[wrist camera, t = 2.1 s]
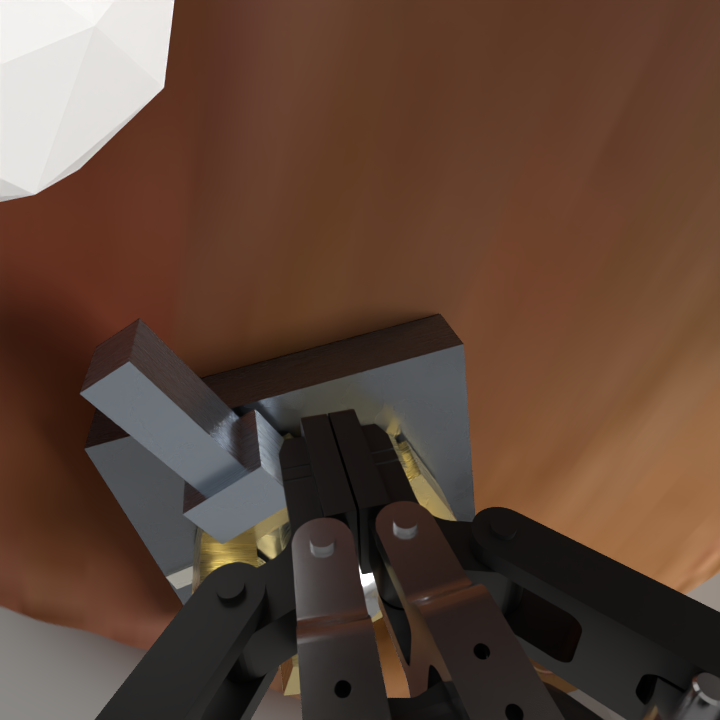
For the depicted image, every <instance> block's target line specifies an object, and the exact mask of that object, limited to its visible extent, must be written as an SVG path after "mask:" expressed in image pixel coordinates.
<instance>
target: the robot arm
mask: <svg viewBox="0 0 720 720" xmlns="http://www.w3.org/2000/svg"><path fill="white" fill-rule="evenodd" d="M300 426H301V435H302V437H297V438H292V439H286V440H284V442H283V444H282V447H281V449H280V452H279V461H280V467H281V474H282V481H283V488H284V495H285V501H286V507H287V513H288V519H289V525H290V531H291V536H290V539H289V542H288V544H287V545H286V547H285V548H284V550H283V551H282V552H281V553H280V554H279V555H277V556H276V557H275V558H273V559H272V560H270V561H268V562H267V563H265V564H263V565H261V566H259V567H257V568H256V567H255V566H253V565H251V564H248V563H243V562H233V563H228V564H225V565H223V566H220V567H218V568H217V569H215V570H214V571H212V572H211V573H210V574H209V575H208V576H207V577H206V578H205V579H204V580H203V582H202V583H201V584H200V585H199V587H198V588H197V589H196V591H195V592H194V593H193V594H192V596H191V597H190V598H189V599H188V601H187V602H186V603H185V605H184V606H183V607H182V608H181V610H180V611H179V612H178V614H177V615H176V616H175V617H174V619H173V620H172V621H171V623H170V624H169V625H168V626H167V628H166V629H165V630H164V632H163V633H162V634H161V635H160V637H159V638H158V639H157V641H156V642H155V643H154V644H153V646H152V647H151V648H150V649H149V651H148V652H147V653H146V655H145V656H144V657H143V659H142V660H141V661H140V662H139V664H138V665H137V666H136V667H135V669H134V670H133V671H132V673H131V674H130V675H129V677H128V678H127V679H126V680H125V682H124V683H123V684H122V685H121V687H120V688H119V689H118V691H117V692H116V693H115V694H114V696H113V697H112V698H111V699H110V701H109V702H108V703H107V705H106V706H105V707H104V708H103V710H102V711H101V713H100V714H99V715H98V716H97V717H96V719H95V720H251V718H252V716H253V714H254V713H255V711H256V709H257V707H258V705H259V704H260V702H261V700H262V698H263V697H264V695H265V693H266V691H267V689H268V688H269V686H270V684H271V682H272V680H273V679H274V677H275V675H276V673H277V671H278V667H279V665H280V664H282V663H284V662H285V661H287V660H288V659H290V658H291V657H293V656H294V655H296V654H298V665H299V679H300V694H301V709H302V720H604V719H603V718H601V717H600V716H598V715H597V714H596V713H594V712H593V711H591V710H590V709H588V708H587V707H585V706H584V705H583V704H581V703H580V702H578V701H577V700H575V699H574V698H572V697H571V696H570V695H568V694H567V693H565V692H563V691H562V690H560V689H558V688H556V687H555V686H553V685H551V684H549V683H546V682H544V681H542V680H541V678H540V677H539V675H538V673H537V672H536V670H535V668H534V667H533V665H532V663H531V662H530V660H529V658H531V659H532V660H534V661H535V662H537V663H538V664H540V665H541V666H543V667H545V668H546V669H548V670H549V671H551V672H552V673H554V674H556V675H557V676H559V677H560V678H562V679H563V680H565V681H567V682H568V683H570V684H571V685H573V686H574V687H576V688H577V689H579V690H581V691H582V692H584V693H585V694H587V695H588V696H590V697H592V698H593V699H595V700H596V701H598V702H599V703H601V704H602V705H604V706H606V707H607V708H609V709H610V710H612V711H613V712H615V713H617V714H618V715H620V716H621V717H623V718H624V719H626V720H720V612H718V611H716V610H714V609H712V608H710V607H708V606H706V605H704V604H702V603H700V602H698V601H696V600H694V599H692V598H690V597H688V596H686V595H684V594H682V593H680V592H678V591H676V590H674V589H672V588H670V587H668V586H666V585H664V584H662V583H660V582H658V581H656V580H653V579H651V578H649V577H647V576H645V575H643V574H641V573H639V572H637V571H635V570H633V569H631V568H629V567H627V566H625V565H623V564H621V563H619V562H617V561H615V560H613V559H611V558H609V557H607V556H605V555H603V554H601V553H599V552H597V551H595V550H593V549H591V548H589V547H587V546H585V545H583V544H581V543H579V542H577V541H575V540H572V539H570V538H568V537H566V536H564V535H562V534H560V533H558V532H556V531H554V530H552V529H550V528H548V527H546V526H544V525H542V524H540V523H538V522H536V521H534V520H532V519H530V518H528V517H526V516H524V515H522V514H520V513H518V512H516V511H513V510H511V509H508V508H503V507H491V508H487V509H484V510H482V511H480V512H479V513H478V514H477V515H476V516H475V517H474V519H473V522H466V521H451V520H445V519H441V518H438V517H435V516H434V515H432V514H431V513H430V512H429V511H428V510H427V509H426V508H425V507H423V506H422V505H420V504H419V502H418V500H417V498H416V496H415V494H414V491H413V489H412V487H411V485H410V482H409V480H408V478H407V476H406V473H405V471H404V469H403V467H402V464H401V462H400V461H399V458H398V456H397V453H396V451H395V450H394V447H393V444H392V442H391V440H390V438H389V435H388V434H387V433H386V432H385V431H384V430H383V429H381V428H380V427H379V426H378V425H377V424H370V425H364V426H361V425H360V422H359V420H358V417H357V415H356V412H355V410H354V409H349V410H343V411H337V412H331V413H328V414H320V415H314V416H308V417H303V418H300ZM359 566H360V570H361V573H362V575H365V574H369V573H373V576H374V579H375V583H376V586H377V602H378V605H379V608H380V610H381V613H382V616H383V618H384V621H385V623H386V626H387V629H388V631H389V634H390V636H391V639H392V641H393V644H394V647H395V649H396V652H397V654H398V657H399V660H400V662H401V665H402V667H403V670H404V673H405V676H406V679H407V683H408V688H409V693H410V698H387V693H386V688H385V683H384V678H383V673H382V668H381V663H380V658H379V653H378V648H377V643H376V638H375V632H374V628H373V623H372V619H371V616H370V615H369V614H368V611H367V607H366V601H365V596H364V591H363V586H362V580H361V575H360V570H359ZM528 657H529V658H528Z"/></svg>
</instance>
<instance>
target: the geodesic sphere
mask: <svg viewBox="0 0 720 720" xmlns="http://www.w3.org/2000/svg"><path fill="white" fill-rule="evenodd" d="M173 7H174V0H0V202H1V201H6V200H11V199H16V198H21V197H26V196H31V195H35V194H37V193H39V192H40V191H42V190H44V189H46V188H47V187H49V186H51V185H53V184H54V183H56V182H58V181H60V180H61V179H63V178H65V177H66V176H68V175H70V174H72V173H73V172H75V171H77V170H79V169H80V168H81V167H82V166H83V165H84V164H85V163H86V162H87V161H88V160H89V159H90V158H91V157H92V156H93V155H94V154H96V153H97V152H98V151H99V150H100V149H101V148H102V147H103V146H104V145H105V144H106V143H107V142H108V141H109V140H110V139H111V138H112V137H113V136H114V135H115V134H116V133H117V132H118V131H119V130H120V129H121V128H123V127H124V126H125V125H126V124H127V123H128V122H129V121H130V120H131V119H132V118H133V117H134V116H135V115H136V114H137V113H138V112H139V111H140V110H141V109H142V108H143V107H144V106H145V105H146V104H147V103H148V102H150V101H151V100H152V99H153V98H154V97H155V96H156V95H157V94H158V93H159V92H160V91H161V90H162V89H163V88H164V82H165V74H166V65H167V57H168V49H169V40H170V32H171V24H172V15H173Z"/></svg>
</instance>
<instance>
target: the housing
mask: <svg viewBox="0 0 720 720" xmlns="http://www.w3.org/2000/svg"><path fill="white" fill-rule="evenodd" d="M201 380H202V381H203V382H204V383H205V384H206V385H207V386H208V387H209V388H210V389H211V390H212V391H213V392H214V393H215V394H216V395H217V396H218V397H219V398H220V399H221V400H222V401H223V402H224V403H225V404H226V405H227V406H228V407H229V408H230V409H231V410H232V411H233V412H234V413H235V414H236V415H237V416H238V417H239V418H241V417H242V416H244V415H245V414H247V413H249V412H250V411H252V410H253V409H256V410H257V411H258V412H259V413H260V414H261V415H262V417H263V418H264V419H265V420H266V421H267V422H268V423H269V424H270V425H271V426H272V427H273V428H274V429H275V430H276V431H277V432H278V433H279V434H280V435H281V436H282V437H283V436H284V435H286V434H288V433H290V434H291V435H292V437H293V438H297V437H302V435H301V426H300V418H303V417H308V416H314V415H320V414H328V413H331V412H337V411H343V410H349V409H354V410H355V412H356V415H357V417H358V420H359V422H360V425H361V426H364V425H370V424H377V425H378V426H379V427H380V428H381V429H383V430H384V431H385V432H386V433H393V436H394V438H395V440H396V443H397V445H398V444H399V443H401V442H403V441H404V440H406V441H407V442H408V444H409V445H410V446H411V448H412V449H413V450H414V452H415V453H416V455H417V456H418V457H419V459H420V460H421V461H422V463H423V464H424V465H425V467H426V468H427V469H428V471H429V472H430V473H431V475H432V476H433V478H434V479H435V480H436V482H437V483H438V484H439V486H440V487H441V489H442V492H443V494H444V496H445V498H446V500H447V502H448V504H449V506H450V508H451V510H452V512H453V514H454V516H455V518H456V520H457V521H466V522H473V519H474V517H475V507H474V492H473V477H472V462H471V447H470V432H469V417H468V402H467V388H466V373H465V358H464V344H463V343H462V341H461V340H460V339H459V338H458V336H457V335H456V334H455V332H454V331H453V330H452V328H451V327H450V326H449V325H448V323H447V322H446V321H445V319H444V318H443V317H442V315H441V314H439V315H435V316H431V317H427V318H424V319H420V320H416V321H413V322H409V323H405V324H401V325H398V326H394V327H390V328H387V329H383V330H379V331H375V332H372V333H368V334H364V335H361V336H357V337H353V338H349V339H346V340H342V341H338V342H335V343H331V344H327V345H323V346H320V347H316V348H312V349H308V350H305V351H301V352H297V353H294V354H290V355H286V356H282V357H279V358H275V359H271V360H268V361H264V362H260V363H256V364H253V365H249V366H245V367H242V368H238V369H234V370H230V371H227V372H223V373H219V374H215V375H212V376H208V377H204V378H201ZM84 449H85V451H86V452H87V454H88V455H89V457H90V458H91V460H92V462H93V463H94V465H95V466H96V468H97V470H98V471H99V473H100V474H101V476H102V477H103V479H104V481H105V482H106V484H107V485H108V487H109V488H110V490H111V492H112V493H113V495H114V496H115V498H116V499H117V501H118V503H119V504H120V506H121V507H122V509H123V511H124V512H125V514H126V515H127V517H128V518H129V520H130V522H131V523H132V525H133V526H134V528H135V529H136V531H137V533H138V534H139V536H140V537H141V539H142V540H143V542H144V544H145V545H146V547H147V548H148V550H149V552H150V553H151V555H152V556H153V558H154V559H155V561H156V563H157V564H158V566H159V567H160V569H161V570H162V572H163V574H164V575H165V577H166V578H167V580H168V582H169V583H170V585H171V586H172V588H173V589H174V591H175V593H176V594H177V596H178V597H179V599H180V600H181V602H182V604H183V605H185V603H186V602H187V601H188V599H189V598H190V597H191V596H192V579H193V552H194V546H195V540H196V534H197V528H198V526H197V525H196V524H195V523H193V522H192V521H191V520H189V519H188V518H187V517H185V516H184V515H183V501H184V484H185V479H183V478H182V477H181V476H180V475H178V474H177V473H176V472H175V471H174V470H172V469H171V468H170V467H169V466H167V465H166V464H165V463H164V462H163V461H161V460H160V459H159V458H158V457H156V456H155V455H154V454H153V453H152V452H150V451H149V450H148V449H147V448H145V447H144V446H143V445H142V444H141V443H139V442H138V441H137V440H136V439H134V438H133V437H132V436H131V435H130V434H128V433H127V432H126V431H125V430H123V429H122V428H121V427H120V426H119V425H117V424H116V423H115V422H114V421H112V420H111V419H110V418H109V417H107V416H106V415H105V414H104V413H103V412H101V411H100V410H99V409H98V408H96V411H95V414H94V418H93V421H92V425H91V428H90V431H89V435H88V438H87V441H86V445H85V448H84ZM290 536H291V531H290V525H289V522H287V523H285V524H284V525H282V526H280V527H278V528H277V529H275V530H273V531H272V532H270V533H268V534H267V535H265V536H263V537H262V538H260V539H258V540H257V541H256V549H257V556H258V557H259V558H261V559H262V560H263V561H264V562H266V563H267V562H268V561H270V560H272V559H273V558H275V557H276V556H277V555H279V554H280V553H281V552H282V551H283V550H284V548H285V547H286V545H287V544H288V542H289V539H290ZM359 570H360V566H359ZM360 575H361V580H362V586H363V591H364V596H365V601H366V607H367V611H368V614H369V615H370V616H371V618H372V617H374V616H375V615H376V614H377V613H378V612H379V610H380V608H379V605H378V602H377V586H376V583H375V579H374V576H373V573H369V574H365V575H362V573H361V570H360Z"/></svg>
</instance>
